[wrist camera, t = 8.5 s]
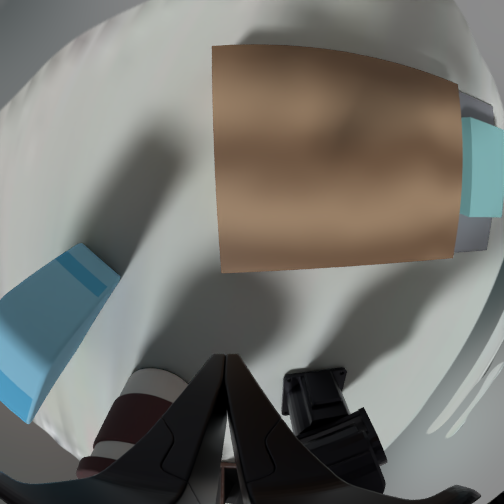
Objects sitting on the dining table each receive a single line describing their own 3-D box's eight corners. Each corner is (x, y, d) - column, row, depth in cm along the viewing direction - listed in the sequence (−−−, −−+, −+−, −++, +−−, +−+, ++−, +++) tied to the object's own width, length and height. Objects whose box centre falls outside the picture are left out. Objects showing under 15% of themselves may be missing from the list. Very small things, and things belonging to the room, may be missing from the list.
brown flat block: (426, 243, 22) (452, 257, 18) (224, 252, 21) (221, 273, 17) (429, 90, 17) (457, 84, 13) (216, 66, 16) (211, 46, 13)
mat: (484, 249, 22) (486, 249, 22) (424, 253, 22) (426, 254, 22) (490, 106, 17) (492, 106, 17) (427, 80, 17) (429, 80, 16)
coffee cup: (124, 407, 26) (92, 510, 12) (111, 347, 23) (50, 471, 9) (205, 422, 27) (198, 535, 13) (209, 364, 24) (197, 513, 10)
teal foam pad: (469, 217, 18) (455, 212, 20) (501, 217, 19) (489, 212, 21) (470, 117, 16) (456, 118, 17) (503, 129, 16) (490, 129, 18)
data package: (87, 236, 20) (-11, 304, 8) (126, 271, 21) (50, 365, 10) (46, 321, 22) (-14, 393, 11) (78, 348, 23) (27, 429, 12)
